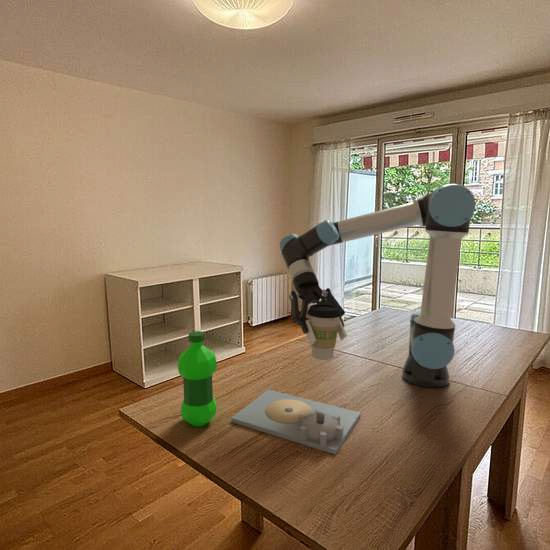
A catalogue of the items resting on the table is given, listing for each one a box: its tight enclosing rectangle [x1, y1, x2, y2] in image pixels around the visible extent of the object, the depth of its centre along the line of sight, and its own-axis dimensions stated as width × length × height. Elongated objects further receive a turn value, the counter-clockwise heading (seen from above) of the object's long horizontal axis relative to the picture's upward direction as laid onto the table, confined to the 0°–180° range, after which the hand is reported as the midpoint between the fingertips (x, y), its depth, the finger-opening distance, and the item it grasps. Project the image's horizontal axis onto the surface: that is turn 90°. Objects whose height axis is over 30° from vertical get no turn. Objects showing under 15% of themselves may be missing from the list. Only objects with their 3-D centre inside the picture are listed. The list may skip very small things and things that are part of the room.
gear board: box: [231, 389, 362, 455], centre depth 107 cm, size 30×20×6 cm
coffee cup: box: [306, 303, 341, 361], centre depth 114 cm, size 10×10×15 cm
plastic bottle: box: [177, 330, 218, 427], centre depth 104 cm, size 10×10×25 cm
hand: (328, 340), depth 111 cm, fingers closed on coffee cup, 10 cm apart
